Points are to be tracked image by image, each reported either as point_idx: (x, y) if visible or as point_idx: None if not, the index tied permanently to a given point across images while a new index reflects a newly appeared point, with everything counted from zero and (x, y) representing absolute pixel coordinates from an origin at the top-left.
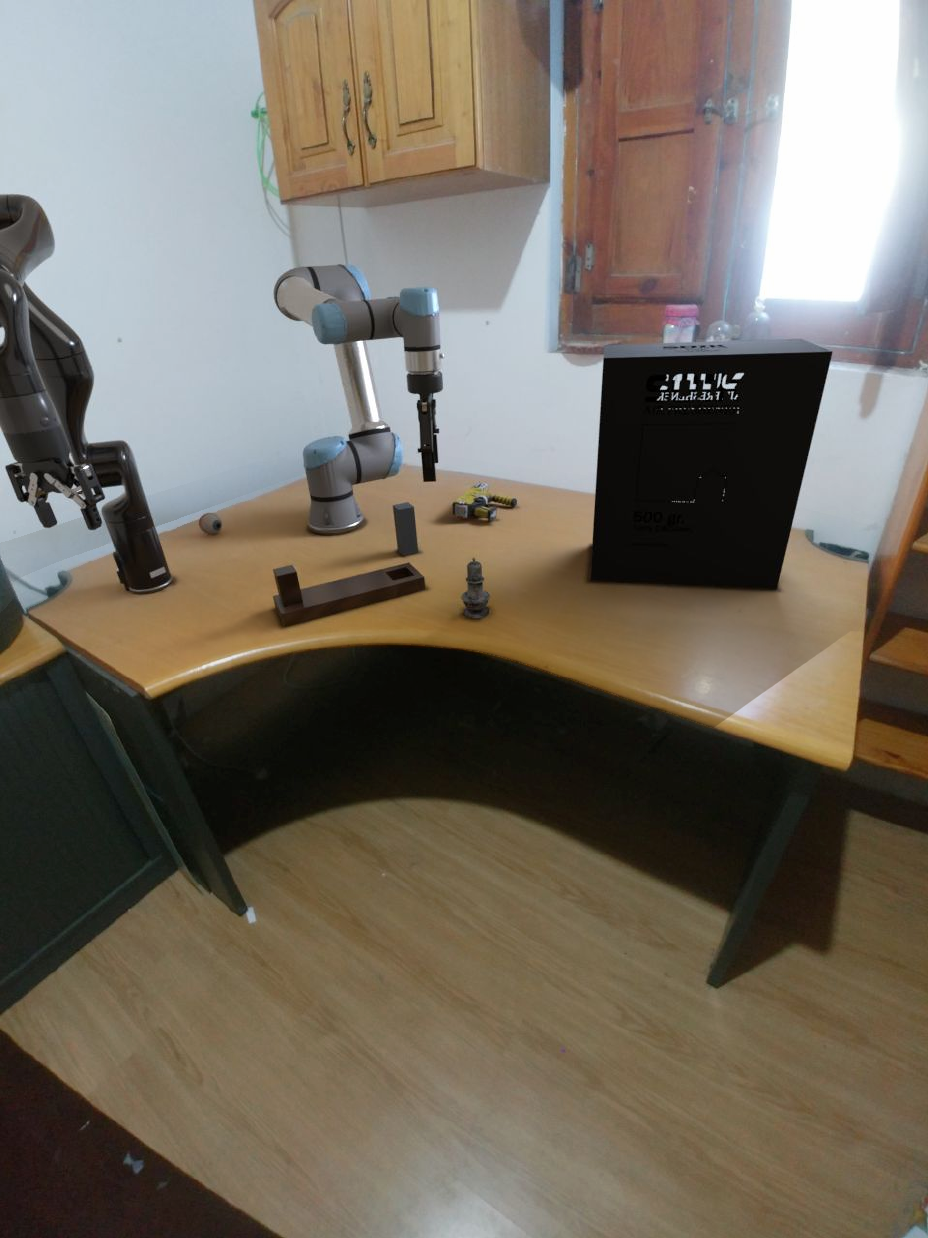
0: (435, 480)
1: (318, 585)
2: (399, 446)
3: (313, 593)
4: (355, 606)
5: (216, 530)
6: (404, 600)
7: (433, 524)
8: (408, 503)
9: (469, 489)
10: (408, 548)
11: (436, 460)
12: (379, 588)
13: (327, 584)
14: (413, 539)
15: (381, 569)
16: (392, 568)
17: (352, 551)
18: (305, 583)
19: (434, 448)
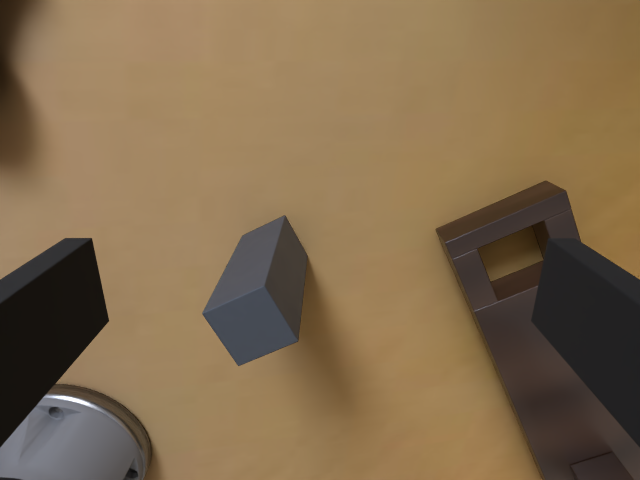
0: (579, 243)
1: (532, 437)
2: None
3: (573, 440)
4: None
5: None
6: (595, 232)
7: (42, 178)
8: (221, 309)
9: None
10: (298, 249)
11: (83, 259)
12: None
13: (533, 421)
14: (287, 242)
15: (477, 312)
16: (478, 285)
17: (261, 385)
18: (435, 450)
19: (18, 325)
